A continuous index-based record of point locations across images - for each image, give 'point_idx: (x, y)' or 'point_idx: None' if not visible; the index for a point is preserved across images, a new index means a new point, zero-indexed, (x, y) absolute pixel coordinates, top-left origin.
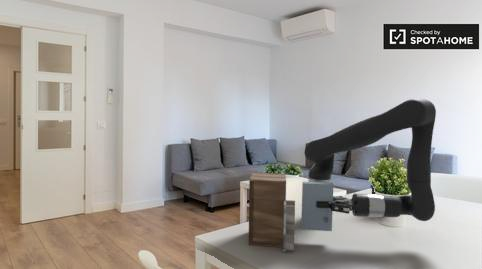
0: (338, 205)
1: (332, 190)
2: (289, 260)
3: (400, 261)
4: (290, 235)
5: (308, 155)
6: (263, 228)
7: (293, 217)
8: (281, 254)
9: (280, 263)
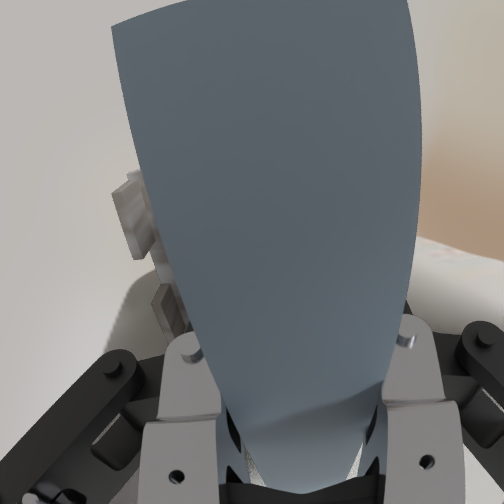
0: (50, 418)
1: (159, 191)
2: (129, 342)
3: None
4: (157, 298)
5: None
6: None
7: (127, 239)
8: None
9: (119, 323)
